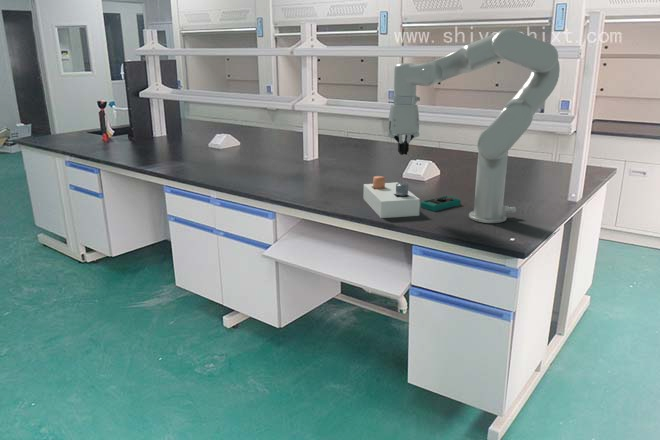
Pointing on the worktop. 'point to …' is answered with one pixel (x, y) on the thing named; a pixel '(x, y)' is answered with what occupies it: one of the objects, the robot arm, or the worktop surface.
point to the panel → (390, 201)
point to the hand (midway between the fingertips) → (403, 153)
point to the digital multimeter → (440, 203)
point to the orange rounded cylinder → (378, 182)
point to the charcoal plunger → (401, 190)
